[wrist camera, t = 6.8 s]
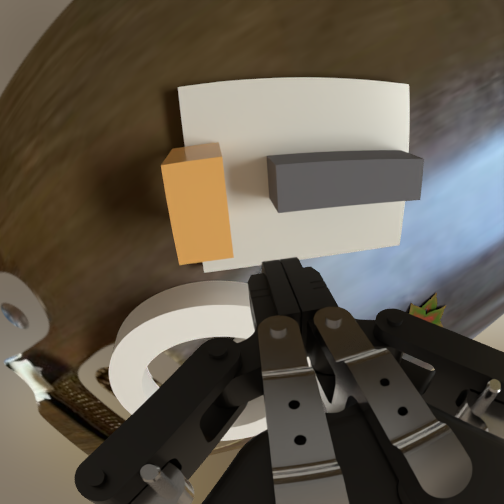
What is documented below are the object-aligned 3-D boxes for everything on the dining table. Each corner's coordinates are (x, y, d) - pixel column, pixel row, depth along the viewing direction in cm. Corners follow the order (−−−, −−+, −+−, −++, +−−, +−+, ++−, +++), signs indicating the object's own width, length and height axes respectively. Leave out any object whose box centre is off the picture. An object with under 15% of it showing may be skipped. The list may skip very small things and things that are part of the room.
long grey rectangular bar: (266, 155, 27) (275, 164, 23) (401, 150, 28) (423, 159, 25) (269, 197, 29) (278, 213, 25) (398, 187, 30) (420, 199, 26)
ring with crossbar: (314, 256, 35) (328, 279, 31) (317, 398, 48) (324, 420, 44) (81, 300, 33) (69, 326, 29) (157, 424, 47) (156, 447, 43)
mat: (179, 88, 24) (177, 87, 23) (401, 84, 26) (408, 84, 25) (204, 265, 33) (204, 272, 32) (393, 239, 35) (399, 245, 33)
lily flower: (392, 362, 47) (403, 381, 43) (374, 322, 41) (388, 343, 37) (448, 324, 45) (462, 340, 41) (440, 277, 40) (458, 295, 36)
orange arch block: (172, 148, 25) (160, 165, 19) (218, 142, 26) (222, 156, 19) (184, 227, 29) (179, 264, 23) (227, 221, 29) (233, 257, 23)
